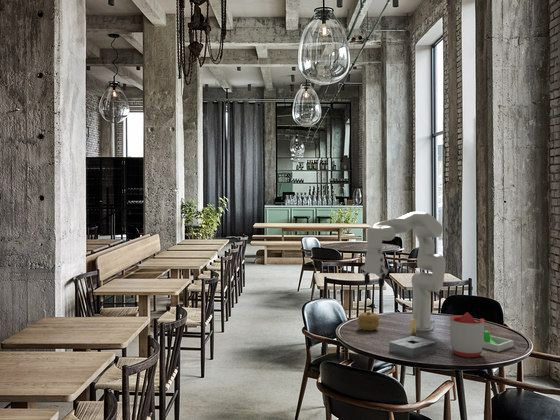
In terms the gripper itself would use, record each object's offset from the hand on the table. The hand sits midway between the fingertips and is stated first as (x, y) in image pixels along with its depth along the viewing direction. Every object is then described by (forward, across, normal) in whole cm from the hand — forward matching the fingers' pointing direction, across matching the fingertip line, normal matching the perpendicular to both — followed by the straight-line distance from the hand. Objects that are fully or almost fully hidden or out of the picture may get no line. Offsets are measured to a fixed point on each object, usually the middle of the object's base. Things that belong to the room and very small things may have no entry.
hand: (374, 284), depth 280 cm
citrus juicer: (+30, -41, -20) cm, 55 cm away
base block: (+30, -22, -3) cm, 37 cm away
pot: (+30, +19, -16) cm, 39 cm away
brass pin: (+29, -9, -20) cm, 36 cm away
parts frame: (+30, -38, -42) cm, 64 cm away
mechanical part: (+30, -38, -42) cm, 64 cm away
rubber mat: (+30, -9, -20) cm, 37 cm away
